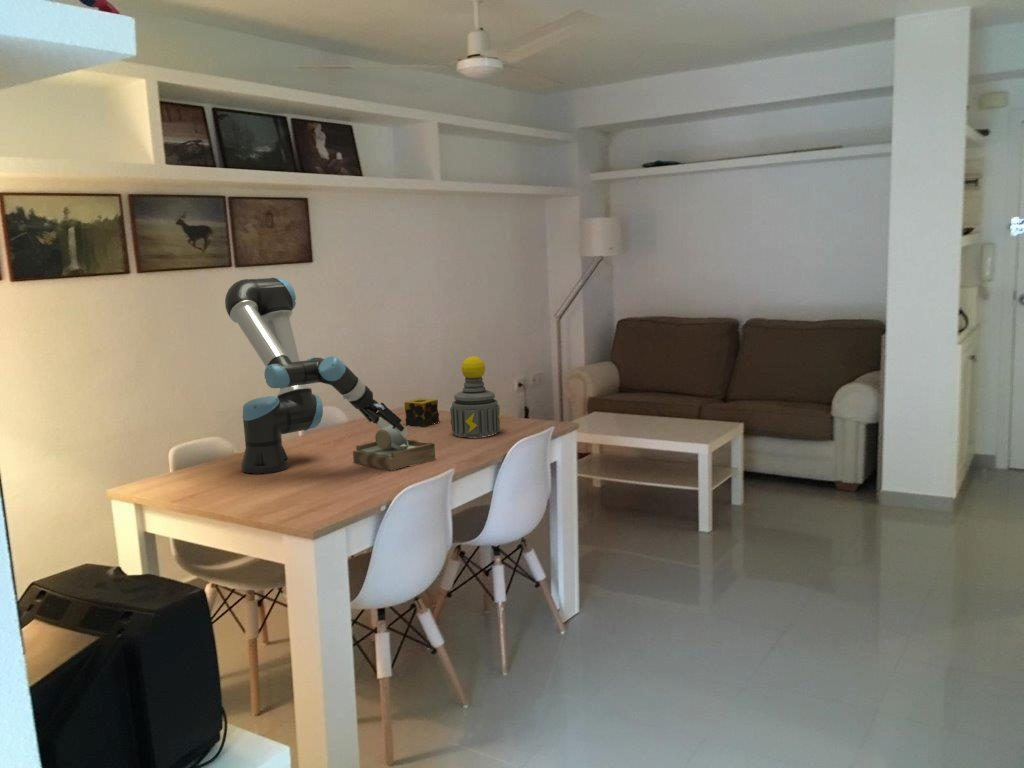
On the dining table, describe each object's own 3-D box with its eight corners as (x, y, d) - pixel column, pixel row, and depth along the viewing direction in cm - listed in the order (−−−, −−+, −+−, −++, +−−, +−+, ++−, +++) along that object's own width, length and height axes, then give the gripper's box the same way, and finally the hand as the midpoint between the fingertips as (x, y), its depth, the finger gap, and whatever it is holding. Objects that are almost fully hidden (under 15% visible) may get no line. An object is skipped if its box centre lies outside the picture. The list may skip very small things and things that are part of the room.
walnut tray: (353, 462, 285) (352, 446, 284) (397, 451, 298) (396, 436, 298) (391, 471, 271) (390, 454, 270) (435, 459, 285) (434, 443, 284)
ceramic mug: (374, 449, 281) (373, 426, 280) (390, 444, 288) (389, 422, 287) (398, 452, 276) (397, 429, 275) (414, 447, 283) (413, 425, 281)
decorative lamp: (503, 428, 332) (500, 352, 328) (497, 438, 314) (494, 358, 309) (456, 429, 335) (452, 354, 330) (447, 439, 316) (443, 360, 312)
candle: (440, 423, 348) (438, 399, 347) (424, 427, 340) (423, 403, 338) (420, 421, 353) (419, 397, 352) (405, 425, 345) (403, 401, 343)
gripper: (331, 399, 276) (373, 438, 291) (370, 405, 263) (412, 446, 277) (343, 381, 280) (384, 421, 294) (383, 386, 266) (424, 428, 280)
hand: (398, 433), depth 285 cm, fingers closed on ceramic mug, 8 cm apart
